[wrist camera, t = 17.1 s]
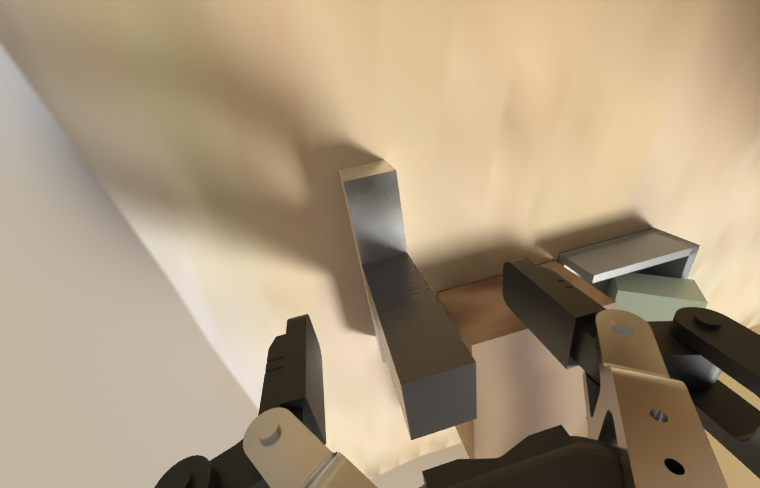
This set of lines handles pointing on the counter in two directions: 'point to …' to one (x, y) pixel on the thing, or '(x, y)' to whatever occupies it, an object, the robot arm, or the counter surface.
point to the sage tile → (654, 295)
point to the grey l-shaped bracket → (407, 309)
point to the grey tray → (631, 257)
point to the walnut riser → (513, 368)
